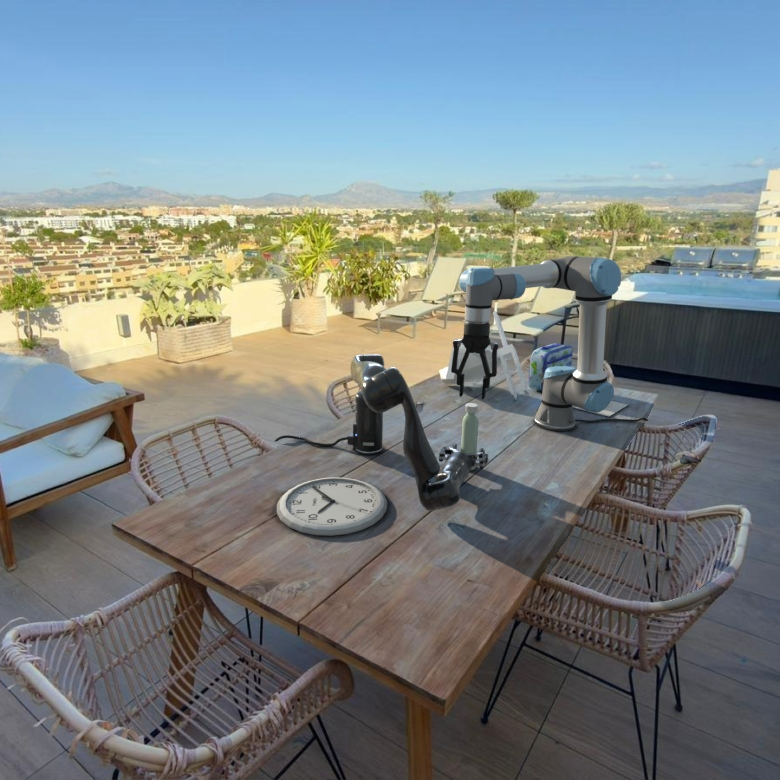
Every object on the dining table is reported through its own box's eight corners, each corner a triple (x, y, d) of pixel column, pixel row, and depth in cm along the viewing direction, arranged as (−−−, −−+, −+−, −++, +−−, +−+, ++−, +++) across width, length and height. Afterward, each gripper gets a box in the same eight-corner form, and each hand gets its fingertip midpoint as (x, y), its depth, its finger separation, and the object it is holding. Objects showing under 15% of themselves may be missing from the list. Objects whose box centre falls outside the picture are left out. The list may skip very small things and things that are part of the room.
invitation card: (608, 416, 214) (573, 407, 224) (608, 416, 214) (573, 408, 224) (628, 404, 229) (594, 396, 238) (628, 405, 229) (594, 397, 238)
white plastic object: (461, 429, 252) (437, 405, 227) (444, 352, 274) (420, 323, 250) (535, 404, 240) (518, 377, 215) (510, 326, 262) (492, 293, 237)
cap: (471, 407, 164) (472, 402, 163) (480, 411, 161) (480, 405, 160) (462, 410, 162) (462, 404, 161) (470, 413, 159) (471, 407, 158)
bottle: (468, 462, 170) (472, 402, 164) (478, 468, 166) (483, 406, 160) (456, 466, 168) (460, 405, 161) (466, 471, 164) (471, 409, 158)
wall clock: (392, 527, 129) (268, 531, 127) (391, 533, 130) (269, 537, 127) (383, 473, 158) (282, 475, 155) (383, 478, 158) (282, 480, 156)
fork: (408, 411, 216) (408, 407, 215) (419, 400, 230) (419, 396, 229) (414, 412, 215) (414, 407, 214) (425, 401, 229) (425, 396, 229)
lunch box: (544, 395, 239) (549, 351, 233) (524, 390, 247) (528, 347, 240) (571, 384, 257) (577, 343, 251) (552, 380, 264) (556, 339, 258)
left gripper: (480, 461, 147) (492, 441, 162) (432, 453, 152) (447, 434, 167) (479, 485, 149) (490, 463, 164) (431, 476, 154) (446, 455, 169)
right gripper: (511, 321, 154) (505, 396, 161) (447, 317, 159) (444, 389, 166) (509, 326, 147) (502, 403, 154) (442, 321, 152) (439, 396, 159)
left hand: (468, 448), depth 165 cm, fingers open, 8 cm apart
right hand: (472, 396), depth 160 cm, fingers open, 6 cm apart
